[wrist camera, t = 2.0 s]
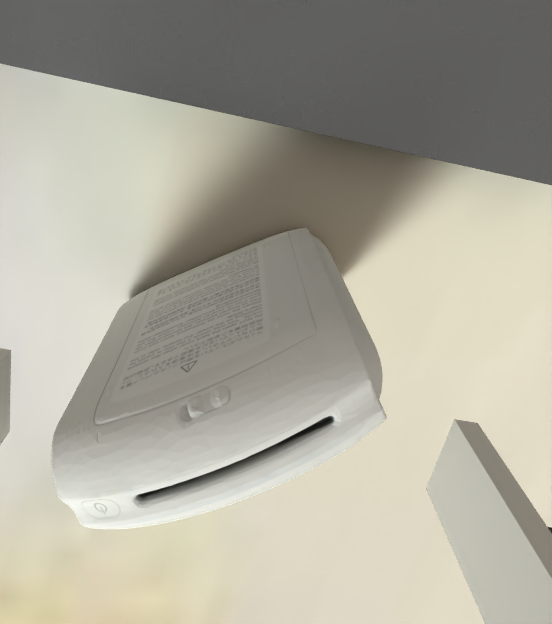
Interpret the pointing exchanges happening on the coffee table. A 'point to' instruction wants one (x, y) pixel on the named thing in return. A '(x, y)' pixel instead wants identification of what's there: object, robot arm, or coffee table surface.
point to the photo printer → (219, 388)
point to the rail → (321, 67)
